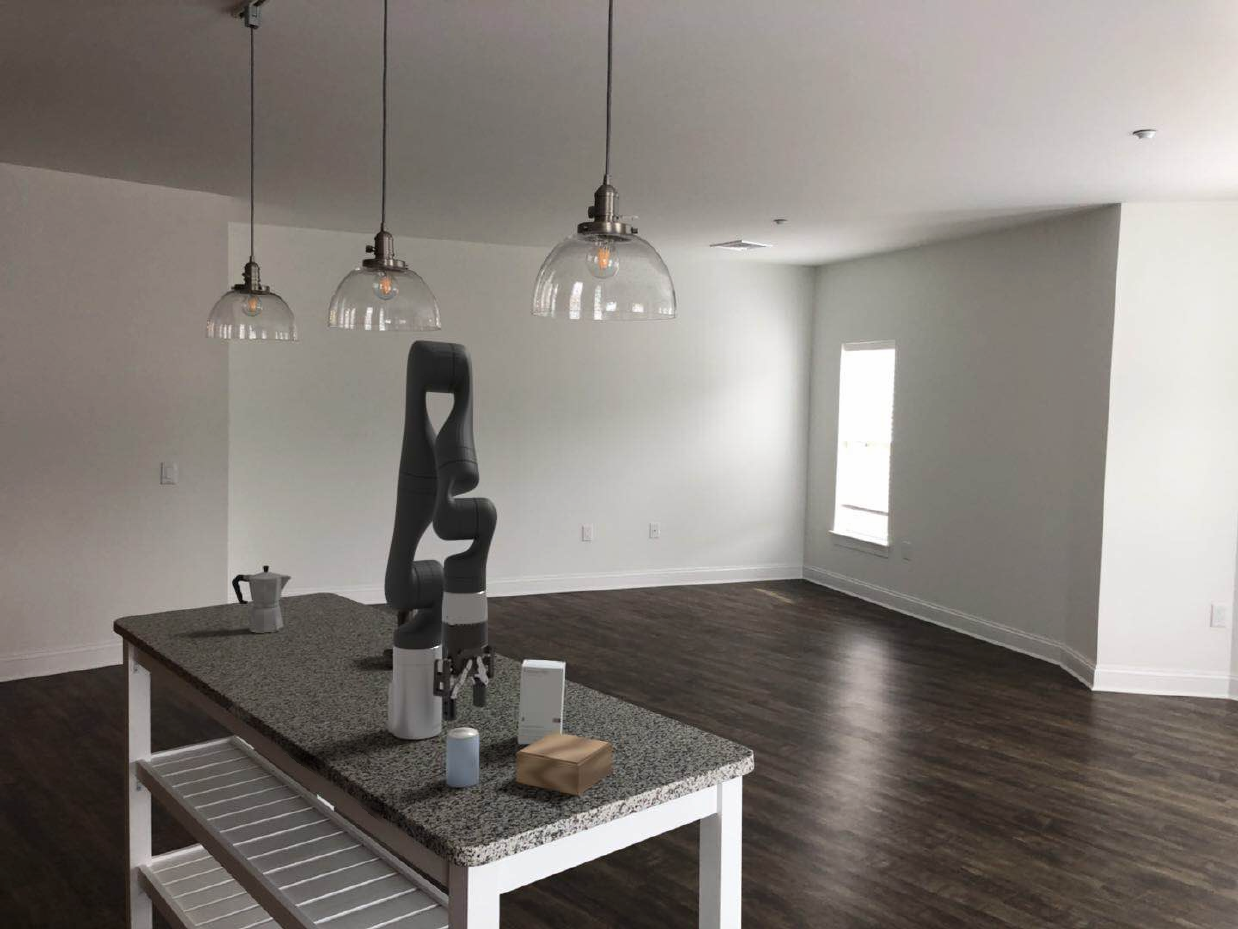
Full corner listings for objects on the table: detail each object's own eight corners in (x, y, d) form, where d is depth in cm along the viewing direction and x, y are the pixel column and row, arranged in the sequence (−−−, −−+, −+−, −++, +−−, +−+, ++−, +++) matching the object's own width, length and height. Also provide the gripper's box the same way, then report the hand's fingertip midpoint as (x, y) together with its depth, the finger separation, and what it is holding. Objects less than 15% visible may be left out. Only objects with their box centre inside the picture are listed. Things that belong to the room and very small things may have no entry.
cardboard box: (515, 782, 165) (516, 751, 165) (551, 759, 176) (552, 731, 176) (578, 795, 160) (578, 764, 160) (611, 772, 171) (612, 742, 170)
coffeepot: (292, 625, 277) (292, 562, 276) (289, 633, 268) (289, 567, 267) (234, 627, 274) (234, 563, 273) (229, 635, 265) (229, 568, 264)
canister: (439, 783, 164) (440, 734, 163) (458, 773, 169) (459, 725, 168) (466, 789, 162) (466, 739, 161) (485, 779, 166) (485, 730, 166)
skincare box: (517, 745, 183) (518, 666, 182) (520, 734, 189) (521, 658, 188) (562, 746, 183) (563, 667, 182) (564, 735, 189) (565, 659, 188)
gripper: (470, 608, 172) (470, 699, 172) (420, 622, 159) (420, 721, 160) (507, 612, 168) (506, 705, 169) (458, 627, 156) (458, 728, 156)
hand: (464, 713), depth 164 cm, fingers open, 8 cm apart
